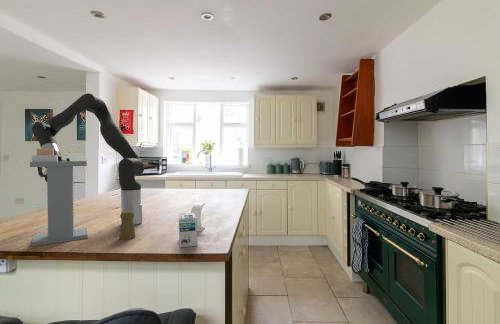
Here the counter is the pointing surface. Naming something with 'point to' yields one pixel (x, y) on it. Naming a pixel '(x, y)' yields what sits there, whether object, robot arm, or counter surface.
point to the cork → (127, 226)
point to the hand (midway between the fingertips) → (58, 179)
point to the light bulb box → (187, 229)
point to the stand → (59, 200)
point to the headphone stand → (198, 214)
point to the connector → (45, 151)
